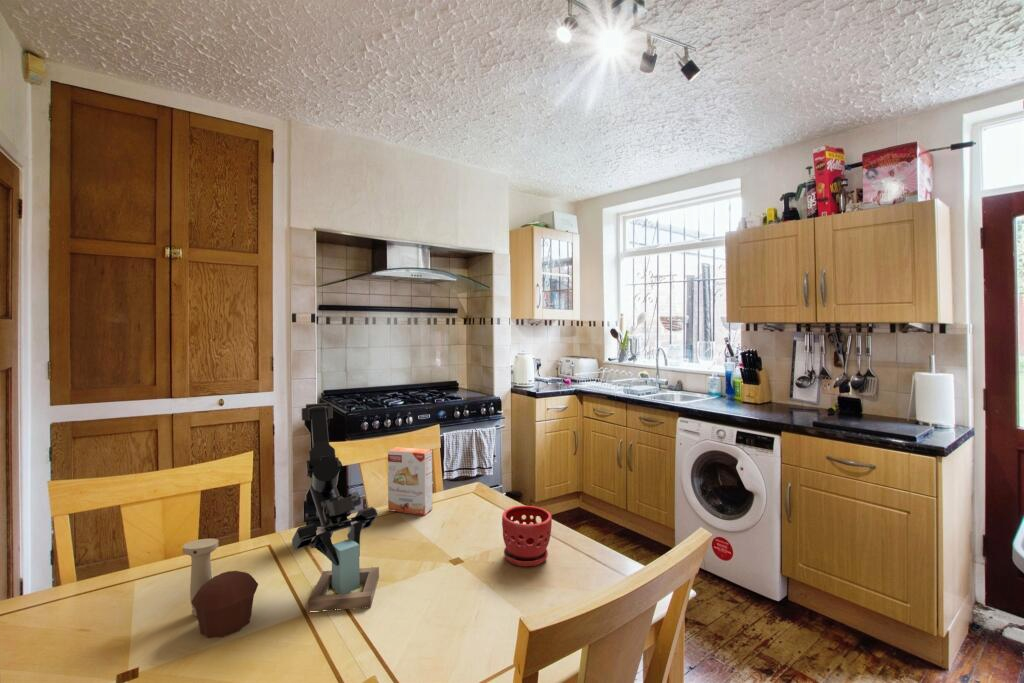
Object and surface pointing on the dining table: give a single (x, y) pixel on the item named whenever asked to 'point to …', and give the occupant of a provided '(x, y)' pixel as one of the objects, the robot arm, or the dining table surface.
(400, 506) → the cracker box
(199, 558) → the handle
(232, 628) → the muffin
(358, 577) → the peg
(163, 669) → the dining table surface
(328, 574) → the socket collar
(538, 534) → the plant pot
